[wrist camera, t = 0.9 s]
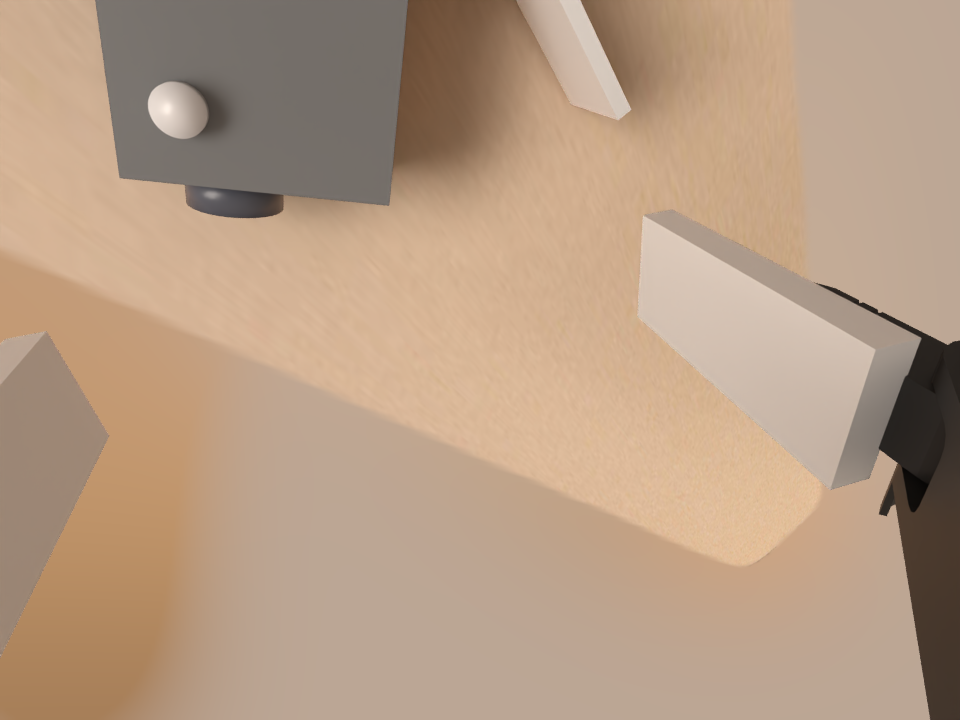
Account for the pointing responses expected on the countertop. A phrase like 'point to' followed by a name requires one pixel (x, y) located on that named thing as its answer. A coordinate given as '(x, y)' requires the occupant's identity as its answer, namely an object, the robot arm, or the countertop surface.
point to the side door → (575, 55)
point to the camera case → (255, 98)
